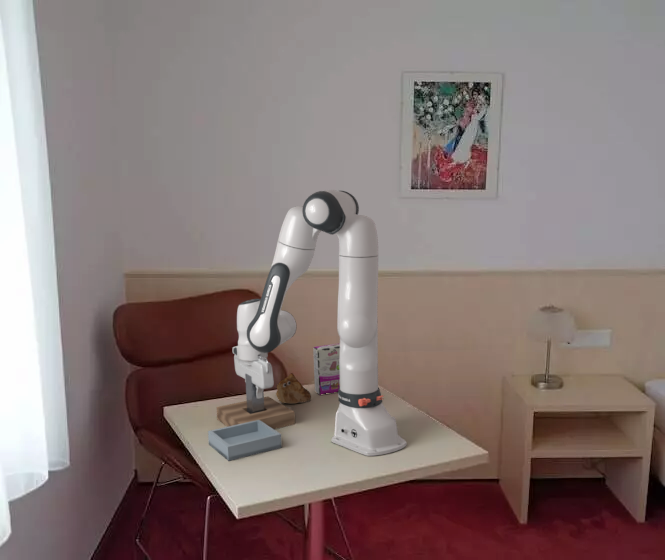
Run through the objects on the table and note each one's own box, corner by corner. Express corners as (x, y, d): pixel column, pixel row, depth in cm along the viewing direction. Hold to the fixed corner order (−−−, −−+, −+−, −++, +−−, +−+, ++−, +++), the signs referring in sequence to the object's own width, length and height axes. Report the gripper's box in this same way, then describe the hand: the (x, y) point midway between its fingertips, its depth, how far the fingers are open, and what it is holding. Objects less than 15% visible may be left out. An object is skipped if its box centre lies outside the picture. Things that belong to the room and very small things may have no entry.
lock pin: (264, 418, 215) (262, 374, 213) (252, 421, 213) (250, 376, 211) (259, 414, 218) (257, 371, 216) (247, 417, 216) (245, 373, 214)
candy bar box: (342, 387, 249) (342, 342, 246) (348, 391, 244) (347, 345, 242) (313, 391, 244) (312, 346, 242) (319, 395, 240) (318, 349, 237)
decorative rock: (280, 408, 228) (279, 376, 226) (273, 403, 233) (272, 372, 231) (313, 402, 233) (312, 371, 232) (305, 397, 238) (304, 366, 237)
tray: (281, 447, 195) (281, 434, 194) (228, 461, 187) (227, 446, 186) (259, 432, 207) (259, 419, 206) (208, 444, 198) (208, 431, 198)
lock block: (295, 424, 213) (294, 411, 212) (240, 436, 204) (240, 423, 203) (268, 408, 228) (268, 396, 228) (217, 419, 219) (216, 407, 218)
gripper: (277, 357, 205) (279, 402, 207) (248, 343, 223) (250, 385, 225) (258, 360, 202) (260, 406, 204) (230, 347, 219) (232, 389, 221)
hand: (255, 395), depth 215 cm, fingers closed on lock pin, 4 cm apart
